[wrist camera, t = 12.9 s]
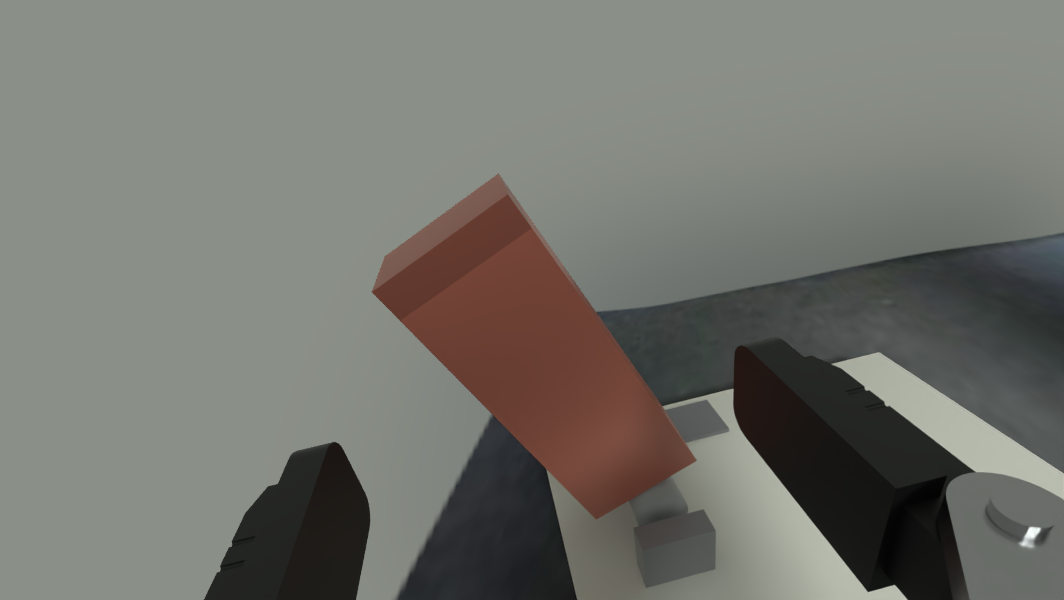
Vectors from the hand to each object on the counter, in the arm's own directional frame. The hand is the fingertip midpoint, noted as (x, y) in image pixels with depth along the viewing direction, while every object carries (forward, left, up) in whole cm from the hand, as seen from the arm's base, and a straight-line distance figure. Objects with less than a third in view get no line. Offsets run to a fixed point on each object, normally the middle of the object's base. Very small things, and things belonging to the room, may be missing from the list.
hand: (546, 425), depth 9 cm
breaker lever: (-4, -4, -8) cm, 10 cm away
